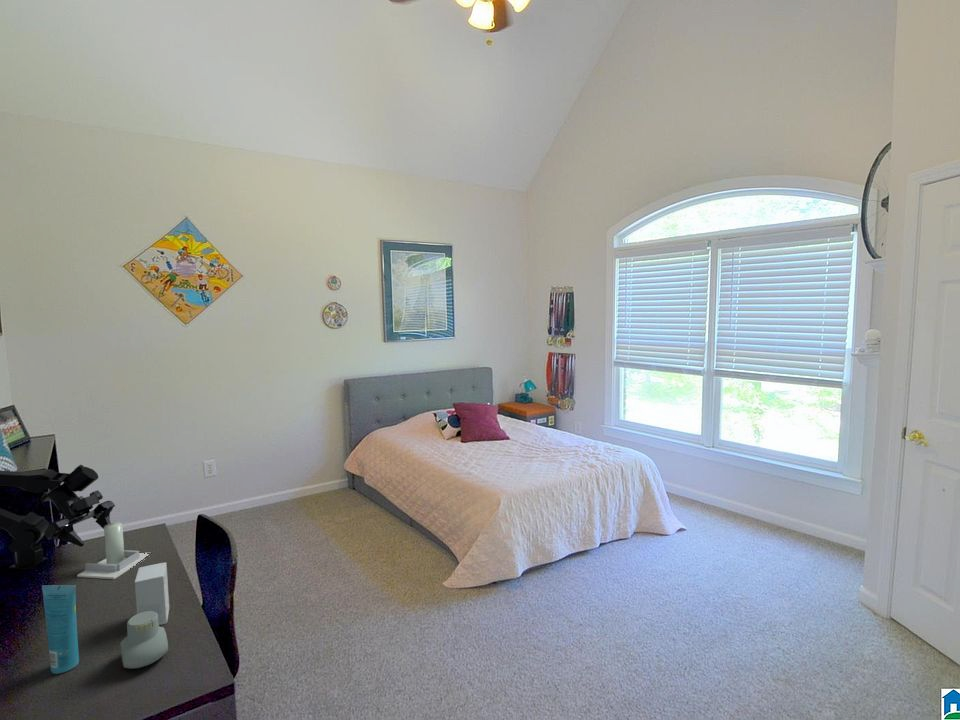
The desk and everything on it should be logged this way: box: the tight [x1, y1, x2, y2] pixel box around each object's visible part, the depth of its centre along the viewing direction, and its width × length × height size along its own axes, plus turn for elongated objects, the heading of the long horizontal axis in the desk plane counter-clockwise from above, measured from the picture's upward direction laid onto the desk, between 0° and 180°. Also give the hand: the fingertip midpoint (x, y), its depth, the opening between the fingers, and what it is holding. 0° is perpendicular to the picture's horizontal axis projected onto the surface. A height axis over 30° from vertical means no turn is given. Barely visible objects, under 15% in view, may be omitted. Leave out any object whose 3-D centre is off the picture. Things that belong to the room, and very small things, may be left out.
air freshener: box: [119, 611, 169, 670], centre depth 113 cm, size 11×8×10 cm
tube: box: [41, 584, 80, 675], centre depth 110 cm, size 7×5×19 cm, turn 96°
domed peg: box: [103, 521, 125, 564], centre depth 154 cm, size 5×5×12 cm
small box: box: [133, 562, 170, 626], centre depth 127 cm, size 8×6×13 cm
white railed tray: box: [76, 549, 149, 580], centre depth 155 cm, size 12×15×3 cm
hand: (97, 539), depth 155 cm, fingers open, 9 cm apart
